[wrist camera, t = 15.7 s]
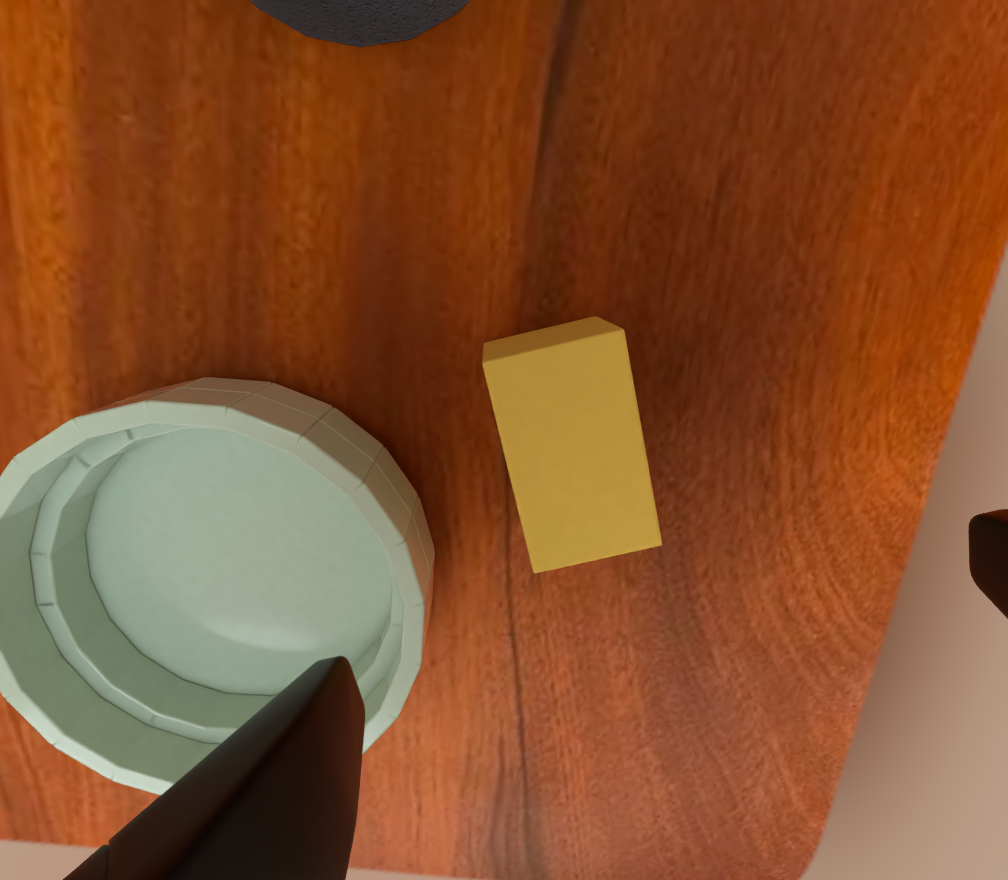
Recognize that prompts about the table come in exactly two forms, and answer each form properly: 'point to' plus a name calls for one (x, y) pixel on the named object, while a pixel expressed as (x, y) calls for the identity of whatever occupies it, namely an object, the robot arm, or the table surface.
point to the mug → (361, 18)
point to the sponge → (573, 442)
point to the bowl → (203, 572)
